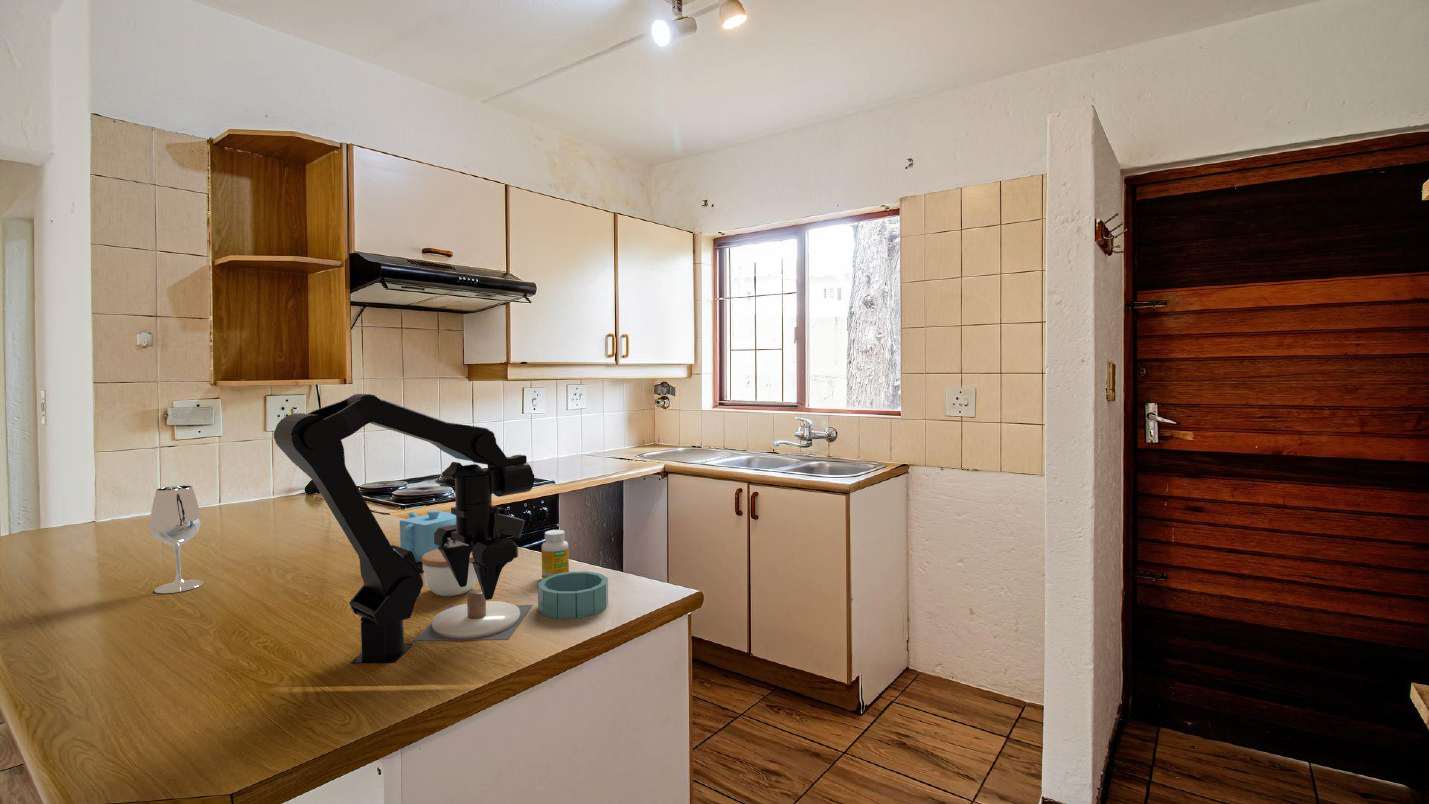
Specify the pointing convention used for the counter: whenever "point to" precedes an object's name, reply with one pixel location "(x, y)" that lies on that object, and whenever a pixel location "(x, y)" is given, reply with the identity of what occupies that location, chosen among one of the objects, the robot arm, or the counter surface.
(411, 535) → the teapot
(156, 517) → the wineglass
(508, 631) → the mat
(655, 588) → the counter surface
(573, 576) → the bowl
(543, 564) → the supplement bottle
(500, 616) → the lid
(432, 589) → the lidded jar
